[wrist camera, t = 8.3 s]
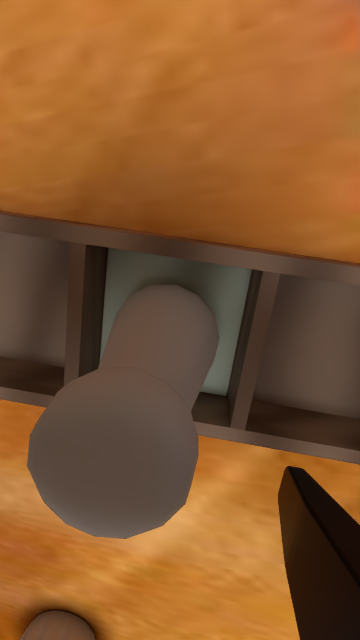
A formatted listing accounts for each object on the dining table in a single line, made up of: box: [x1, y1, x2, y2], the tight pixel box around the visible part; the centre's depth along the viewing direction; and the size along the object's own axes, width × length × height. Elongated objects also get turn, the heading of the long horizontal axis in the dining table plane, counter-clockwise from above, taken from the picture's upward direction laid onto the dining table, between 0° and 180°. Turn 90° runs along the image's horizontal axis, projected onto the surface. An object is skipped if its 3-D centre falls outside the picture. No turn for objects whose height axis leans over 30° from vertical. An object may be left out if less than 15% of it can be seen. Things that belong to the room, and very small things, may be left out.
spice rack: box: [0, 211, 360, 464], centre depth 19 cm, size 29×10×4 cm, turn 82°
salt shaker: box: [27, 285, 219, 539], centre depth 14 cm, size 6×6×13 cm
